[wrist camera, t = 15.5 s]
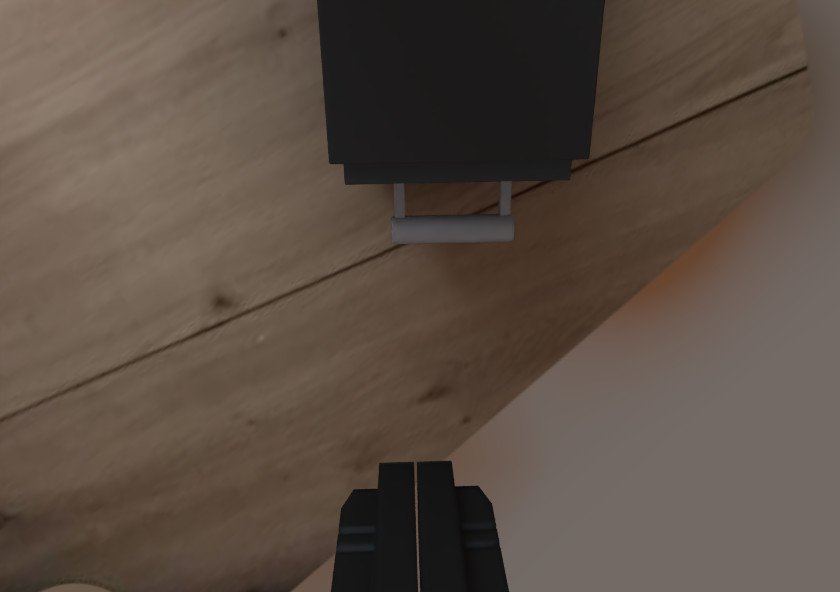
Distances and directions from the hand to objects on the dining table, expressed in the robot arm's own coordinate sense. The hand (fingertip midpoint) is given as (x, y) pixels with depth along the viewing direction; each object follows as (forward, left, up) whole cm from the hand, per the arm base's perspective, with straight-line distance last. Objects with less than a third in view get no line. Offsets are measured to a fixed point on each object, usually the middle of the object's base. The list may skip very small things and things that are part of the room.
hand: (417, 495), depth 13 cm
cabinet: (+8, -7, -29) cm, 31 cm away
